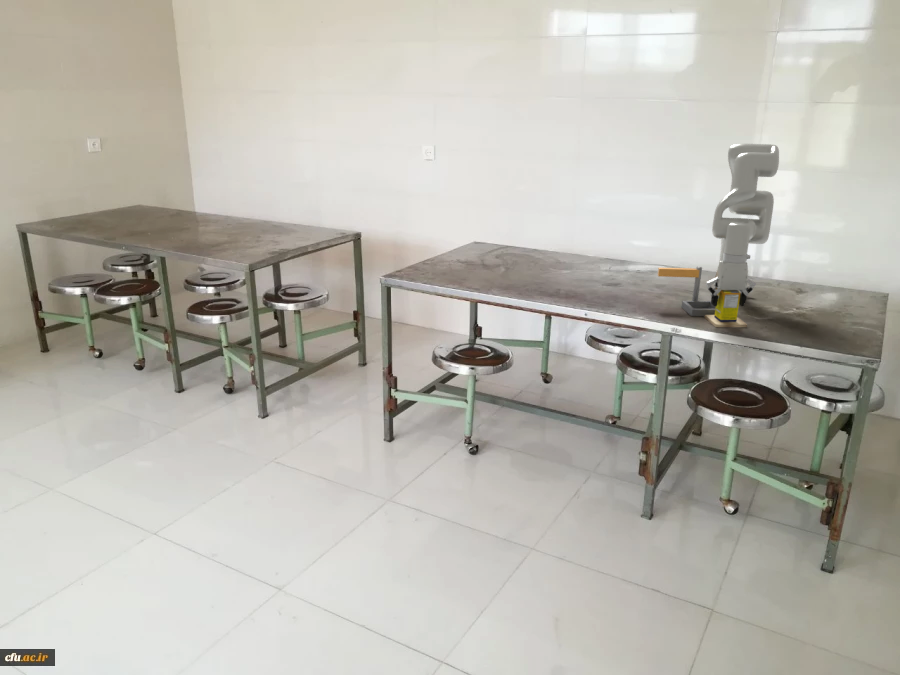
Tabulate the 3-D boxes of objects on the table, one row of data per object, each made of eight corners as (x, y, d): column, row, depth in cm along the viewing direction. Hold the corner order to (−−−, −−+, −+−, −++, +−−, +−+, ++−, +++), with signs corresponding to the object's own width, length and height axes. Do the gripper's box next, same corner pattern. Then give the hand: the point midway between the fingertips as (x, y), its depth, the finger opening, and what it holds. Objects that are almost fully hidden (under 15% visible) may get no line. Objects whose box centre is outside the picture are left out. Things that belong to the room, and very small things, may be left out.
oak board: (734, 317, 248) (734, 314, 248) (746, 327, 238) (747, 324, 238) (704, 317, 248) (704, 314, 248) (715, 327, 238) (716, 324, 237)
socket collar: (710, 306, 261) (711, 300, 260) (722, 316, 250) (723, 309, 249) (681, 307, 261) (682, 300, 260) (691, 316, 250) (692, 309, 249)
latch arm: (696, 304, 263) (701, 266, 258) (697, 305, 261) (702, 267, 256) (654, 302, 265) (658, 265, 260) (655, 304, 263) (659, 266, 258)
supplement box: (729, 316, 246) (734, 287, 242) (736, 322, 240) (741, 292, 236) (713, 316, 246) (717, 287, 242) (720, 322, 240) (724, 292, 236)
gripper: (754, 255, 239) (747, 302, 245) (705, 255, 239) (699, 302, 244) (764, 260, 232) (756, 308, 238) (713, 260, 232) (707, 308, 237)
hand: (727, 305), depth 241 cm, fingers open, 9 cm apart
